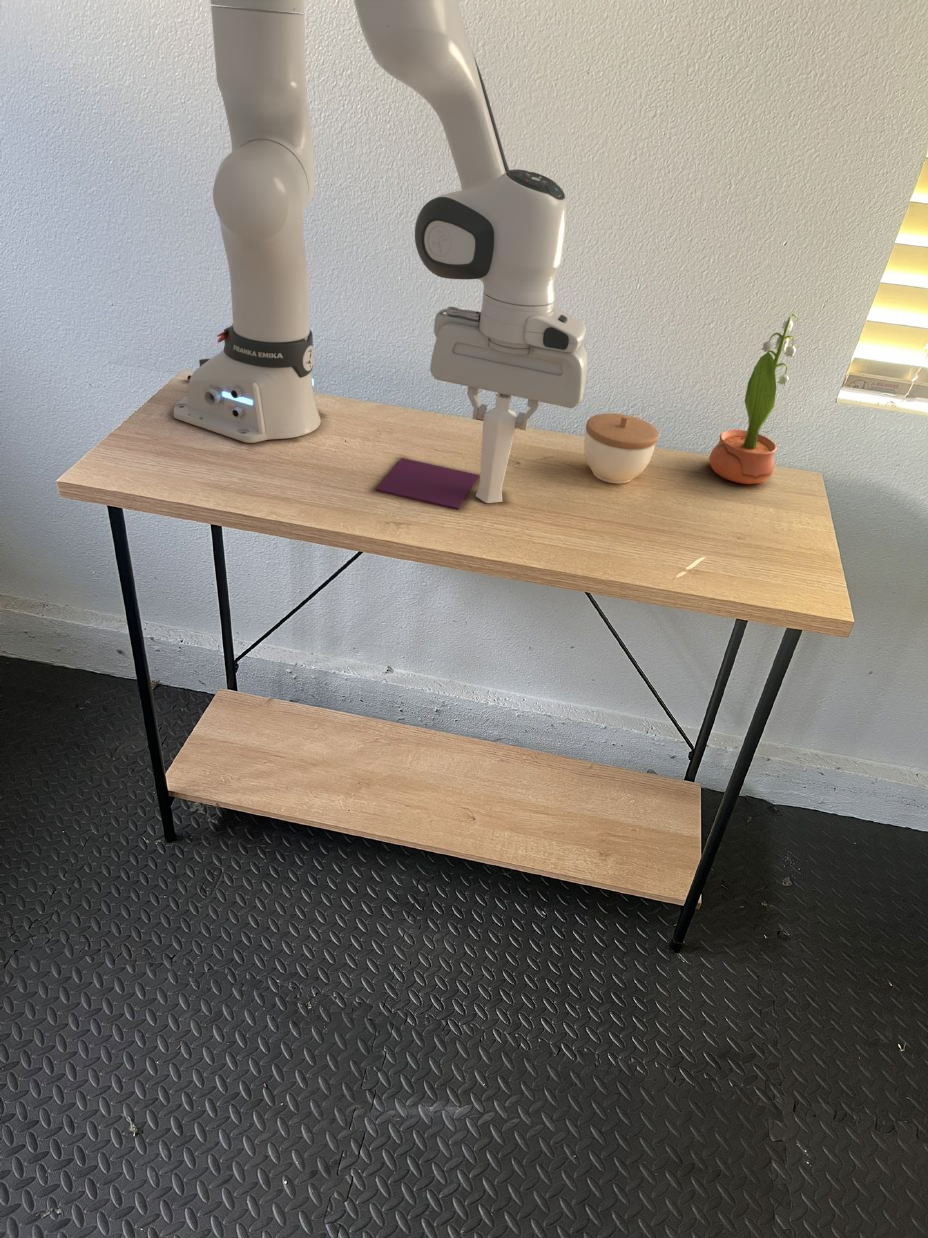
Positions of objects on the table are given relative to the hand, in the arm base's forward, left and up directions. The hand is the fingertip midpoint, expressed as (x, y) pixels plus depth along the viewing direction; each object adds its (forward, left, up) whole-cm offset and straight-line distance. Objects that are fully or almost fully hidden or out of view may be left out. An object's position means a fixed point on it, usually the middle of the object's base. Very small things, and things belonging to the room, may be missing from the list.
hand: (500, 423), depth 114 cm
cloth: (-9, 0, -11) cm, 14 cm away
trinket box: (+15, +16, -11) cm, 25 cm away
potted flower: (+34, +27, -11) cm, 45 cm away
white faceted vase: (0, 0, -11) cm, 11 cm away
